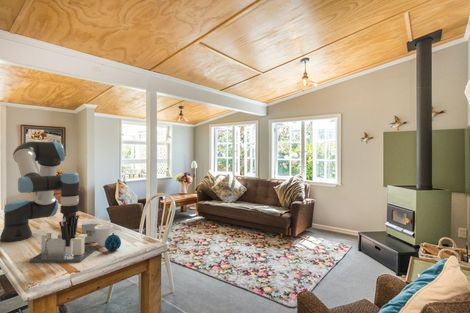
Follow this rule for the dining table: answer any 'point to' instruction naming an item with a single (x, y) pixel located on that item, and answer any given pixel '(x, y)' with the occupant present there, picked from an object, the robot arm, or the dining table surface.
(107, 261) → the dining table surface
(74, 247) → the block
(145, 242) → the dining table surface
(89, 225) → the ink box
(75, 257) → the base
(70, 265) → the dining table surface
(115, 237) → the ornament
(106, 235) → the cup
